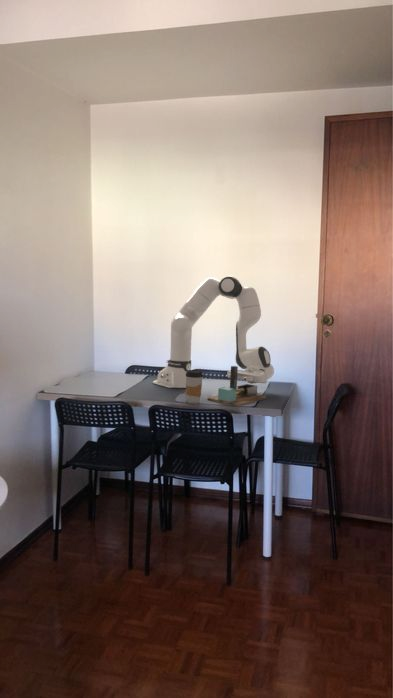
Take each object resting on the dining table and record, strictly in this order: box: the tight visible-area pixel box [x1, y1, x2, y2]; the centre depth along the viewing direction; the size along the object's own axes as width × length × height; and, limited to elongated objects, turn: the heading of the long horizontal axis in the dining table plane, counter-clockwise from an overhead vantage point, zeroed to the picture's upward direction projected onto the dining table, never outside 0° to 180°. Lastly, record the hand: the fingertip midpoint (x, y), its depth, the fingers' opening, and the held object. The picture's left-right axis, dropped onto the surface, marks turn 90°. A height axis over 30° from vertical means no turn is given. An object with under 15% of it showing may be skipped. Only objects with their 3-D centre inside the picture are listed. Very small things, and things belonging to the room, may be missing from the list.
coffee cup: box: [185, 369, 204, 404], centre depth 281 cm, size 8×8×15 cm
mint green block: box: [217, 386, 236, 402], centre depth 284 cm, size 7×5×6 cm
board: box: [207, 394, 267, 407], centre depth 292 cm, size 18×26×1 cm
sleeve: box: [237, 383, 258, 397], centre depth 298 cm, size 6×9×4 cm
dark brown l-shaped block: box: [229, 365, 245, 396], centre depth 289 cm, size 3×14×15 cm, turn 142°
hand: (237, 377), depth 290 cm, fingers open, 8 cm apart
